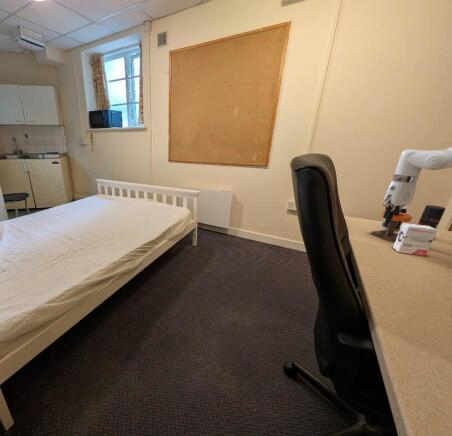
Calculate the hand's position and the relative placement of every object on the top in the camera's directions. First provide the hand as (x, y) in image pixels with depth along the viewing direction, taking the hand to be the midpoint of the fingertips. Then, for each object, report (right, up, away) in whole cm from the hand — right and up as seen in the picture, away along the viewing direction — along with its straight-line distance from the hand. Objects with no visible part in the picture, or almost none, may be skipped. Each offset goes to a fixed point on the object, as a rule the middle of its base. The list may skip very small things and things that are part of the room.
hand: (389, 218), depth 102 cm
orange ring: (+3, 0, +1) cm, 4 cm away
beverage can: (+15, -6, +14) cm, 21 cm away
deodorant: (+21, -9, +5) cm, 23 cm away
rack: (+4, -9, +4) cm, 11 cm away
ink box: (-2, -14, -9) cm, 17 cm away
